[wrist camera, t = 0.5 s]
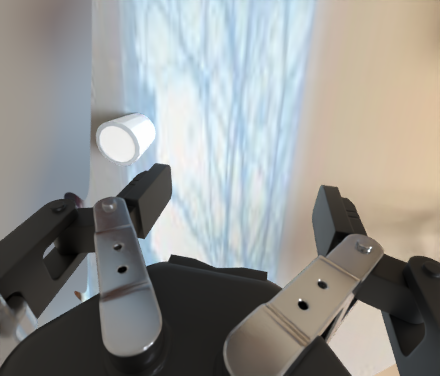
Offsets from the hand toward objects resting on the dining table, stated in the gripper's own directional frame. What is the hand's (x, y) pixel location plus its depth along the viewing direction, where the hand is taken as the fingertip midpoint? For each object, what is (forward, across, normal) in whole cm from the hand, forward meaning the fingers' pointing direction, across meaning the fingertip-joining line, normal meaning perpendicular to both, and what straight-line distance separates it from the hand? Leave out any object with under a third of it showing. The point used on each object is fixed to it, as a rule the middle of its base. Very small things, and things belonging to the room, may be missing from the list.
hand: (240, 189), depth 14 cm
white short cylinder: (+26, +20, +8) cm, 34 cm away
